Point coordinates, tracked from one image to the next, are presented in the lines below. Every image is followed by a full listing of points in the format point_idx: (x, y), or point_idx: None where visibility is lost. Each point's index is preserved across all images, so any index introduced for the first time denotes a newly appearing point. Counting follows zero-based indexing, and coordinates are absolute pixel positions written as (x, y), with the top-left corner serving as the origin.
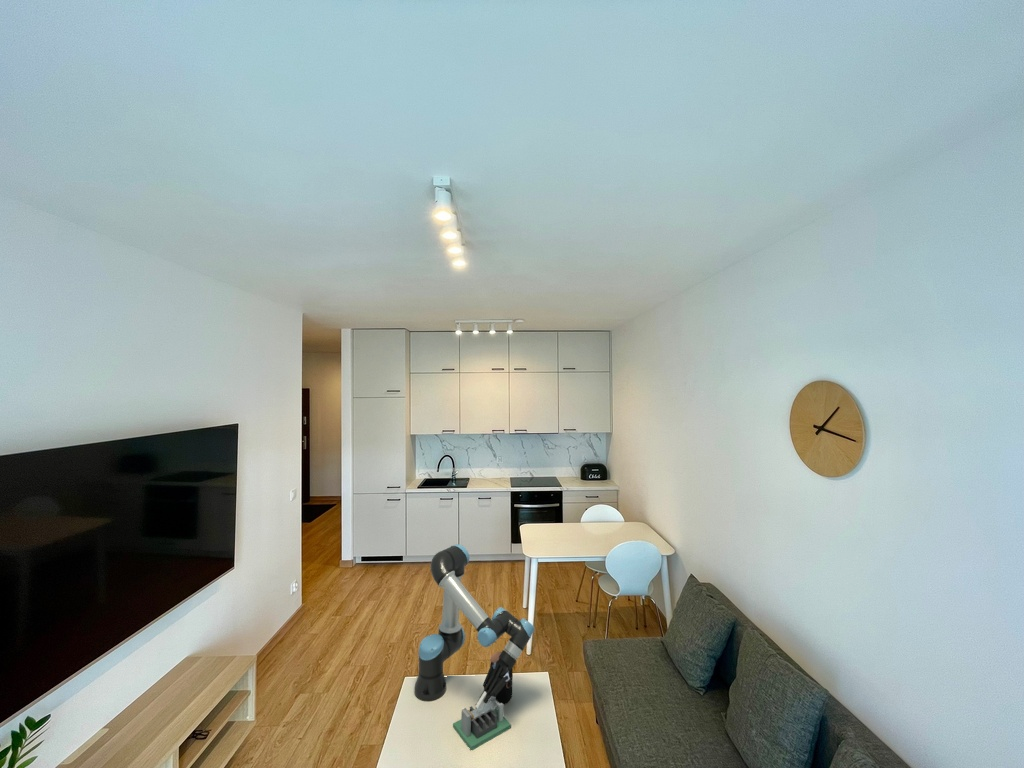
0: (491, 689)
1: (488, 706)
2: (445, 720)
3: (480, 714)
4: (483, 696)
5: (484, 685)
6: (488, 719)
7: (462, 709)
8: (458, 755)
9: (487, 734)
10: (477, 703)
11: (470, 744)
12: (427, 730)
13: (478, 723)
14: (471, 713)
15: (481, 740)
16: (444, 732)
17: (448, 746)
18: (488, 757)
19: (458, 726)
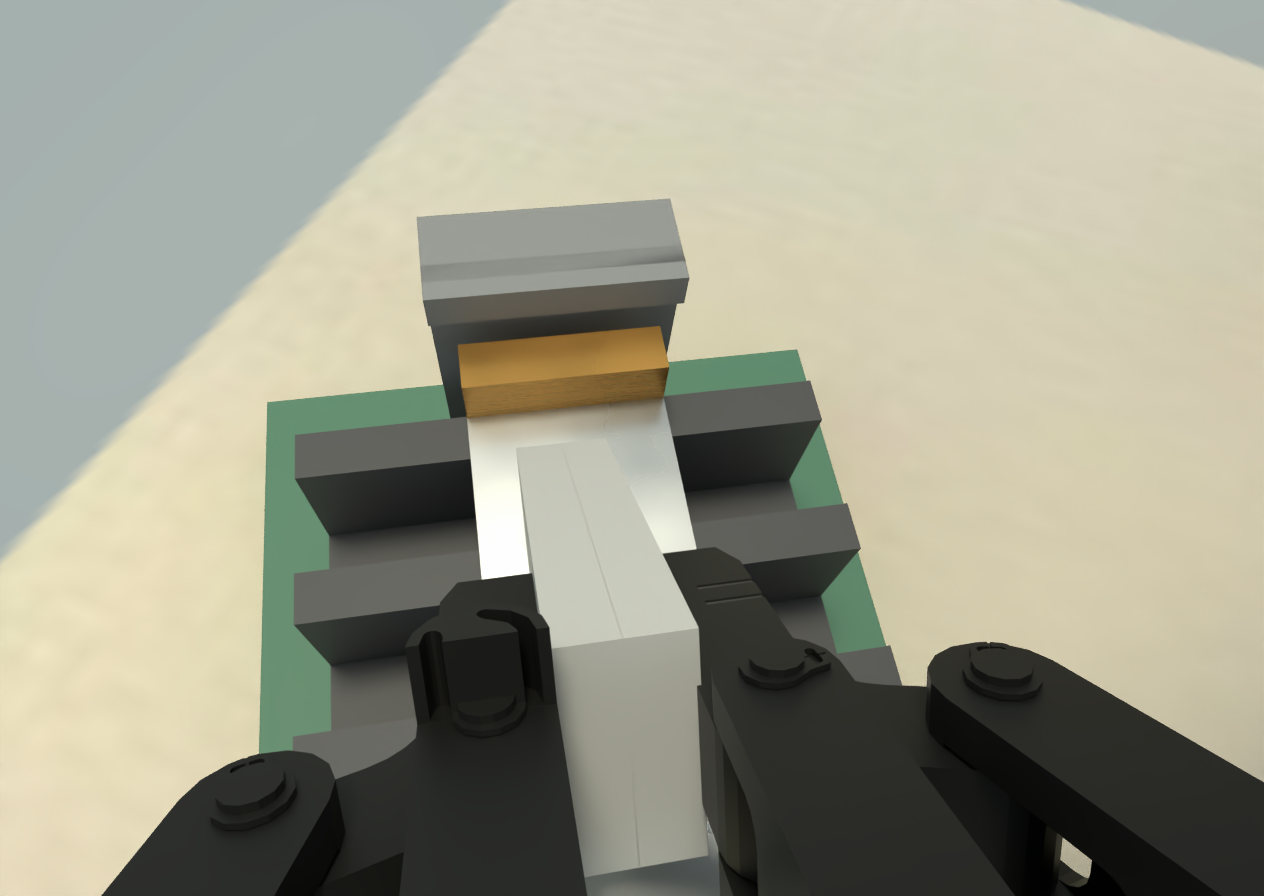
0: (406, 875)
1: (631, 874)
2: (931, 338)
3: (488, 577)
4: (574, 568)
5: (944, 687)
6: (333, 734)
7: (673, 215)
8: (320, 286)
9: (321, 724)
10: (604, 463)
11: (311, 411)
12: (842, 143)
13: None
14: (549, 376)
15: (276, 581)
16: (739, 270)
17: None
18: (11, 597)
19: (710, 390)
